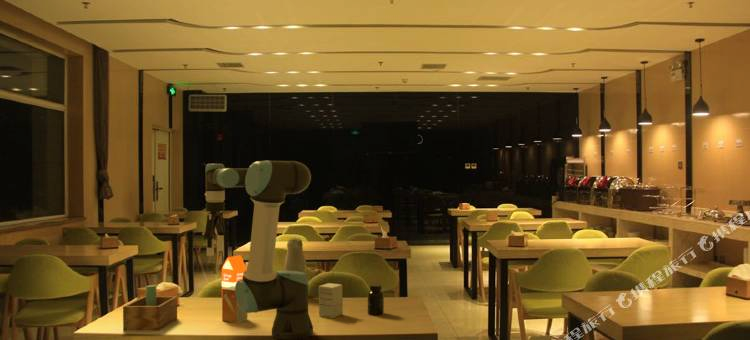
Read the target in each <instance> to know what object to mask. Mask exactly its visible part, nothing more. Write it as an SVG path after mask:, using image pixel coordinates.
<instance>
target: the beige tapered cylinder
mask: <svg viewBox="0 0 750 340" xmlns="http://www.w3.org/2000/svg"><path fill="white" fill-rule="evenodd" d="M303 245H304V244H303V241H302V240H301V238H296V237H295V238H294V237H293V238H289V239H288V241H287V244H286V248H287V249H286V254H285V259H284V263H283V267H284V268H283V270H287V271H298V272H303V273H305V274H306V275H307V261H306V256H305V254H304V249H303Z"/></svg>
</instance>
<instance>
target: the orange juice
mask: <svg viewBox="0 0 750 340" xmlns="http://www.w3.org/2000/svg"><path fill="white" fill-rule="evenodd" d="M246 270H247V266H246V264H245V262H244V260H243V257H242V255H241V254H238V255H233V256H229V257H227V258H226V260H225V261H224V262H223V266H222V267H221V290H222V289H223V288H227V287H231V286H235V285H236V283H237V281H239V280H242V279H243V273H244V271H246Z"/></svg>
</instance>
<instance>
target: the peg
mask: <svg viewBox="0 0 750 340" xmlns="http://www.w3.org/2000/svg"><path fill="white" fill-rule="evenodd" d="M156 296H157V285H156V284H151V285H146V286H145V297H146V306H156Z"/></svg>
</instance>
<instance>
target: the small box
mask: <svg viewBox="0 0 750 340" xmlns="http://www.w3.org/2000/svg"><path fill="white" fill-rule="evenodd" d="M221 300H222V301H221V302H222V303H221V305H222V306H221V308H222V309H221V310H222V311H221V312H222V313H221V314H222V315H221V318H222V321H226V322H231V323H236V324H238V323H242V322H244V321H247V320H248V313H246V312H244V311H242V310H241V308H240V307H239V305H238V302H237V299H236V294H235V286H231V287H227V288H223V289H222V288H221Z"/></svg>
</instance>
